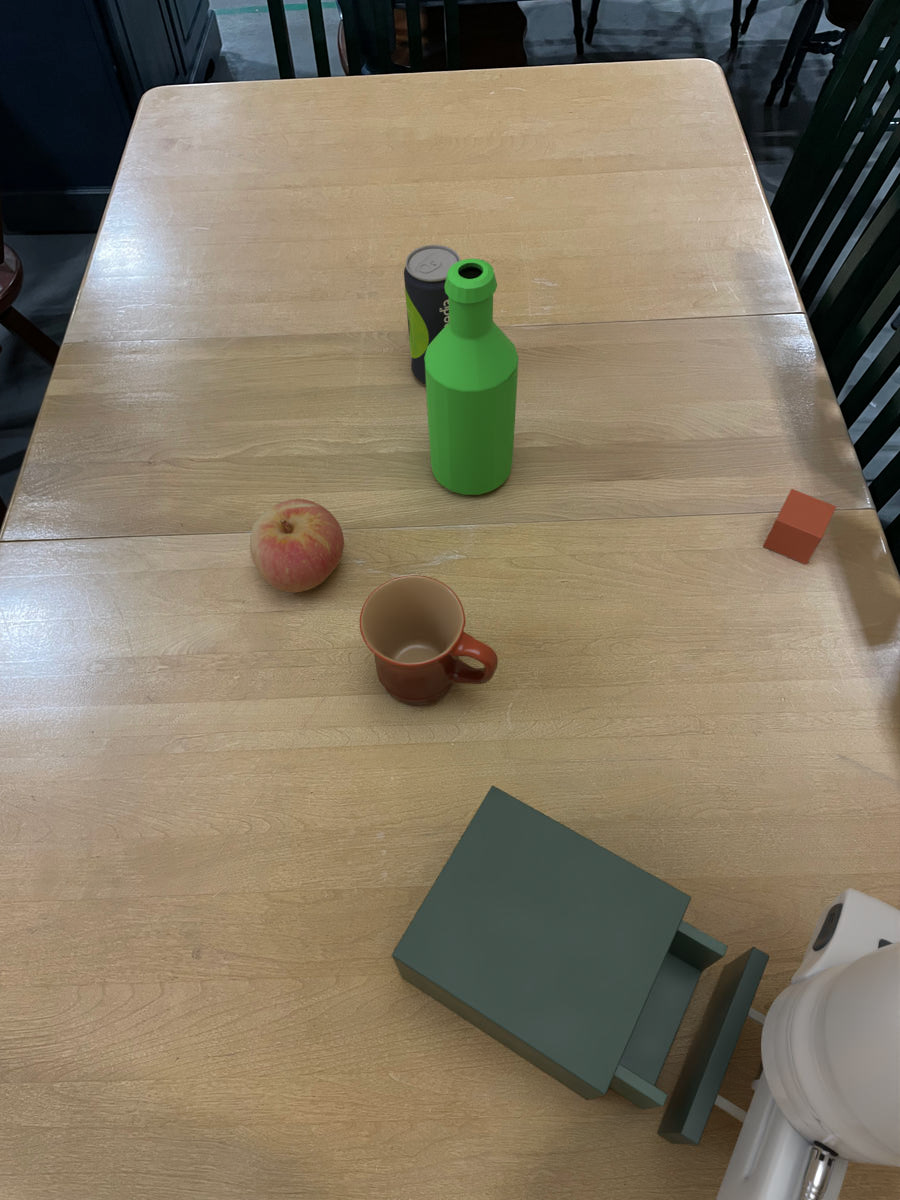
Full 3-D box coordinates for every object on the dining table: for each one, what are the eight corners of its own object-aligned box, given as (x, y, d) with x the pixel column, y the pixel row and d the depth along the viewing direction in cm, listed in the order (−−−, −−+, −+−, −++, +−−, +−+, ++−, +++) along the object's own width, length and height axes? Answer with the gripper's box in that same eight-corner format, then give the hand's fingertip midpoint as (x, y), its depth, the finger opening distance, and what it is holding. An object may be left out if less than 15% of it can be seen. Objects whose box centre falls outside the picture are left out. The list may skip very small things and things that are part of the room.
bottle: (476, 426, 95) (477, 225, 74) (528, 471, 92) (545, 273, 71) (415, 465, 93) (397, 268, 71) (466, 513, 89) (463, 320, 68)
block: (820, 533, 87) (836, 506, 83) (806, 565, 85) (821, 538, 81) (777, 516, 88) (791, 488, 84) (762, 546, 86) (776, 519, 82)
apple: (364, 559, 86) (355, 510, 79) (308, 622, 82) (294, 576, 76) (298, 521, 89) (283, 471, 82) (241, 580, 85) (221, 533, 78)
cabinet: (664, 926, 67) (692, 896, 58) (587, 1100, 61) (605, 1095, 52) (490, 825, 71) (492, 784, 63) (401, 977, 65) (390, 955, 57)
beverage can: (432, 398, 98) (425, 289, 85) (401, 368, 101) (391, 258, 88) (474, 375, 100) (475, 264, 87) (443, 346, 103) (439, 235, 90)
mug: (355, 696, 78) (340, 641, 69) (397, 621, 82) (389, 561, 73) (474, 746, 75) (474, 696, 66) (512, 666, 79) (517, 609, 71)
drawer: (802, 1010, 62) (842, 996, 56) (740, 1189, 57) (776, 1196, 50) (565, 873, 68) (575, 845, 61) (487, 1023, 62) (489, 1009, 56)
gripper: (855, 1327, 38) (758, 1278, 50) (967, 921, 47) (863, 960, 59) (723, 1236, 40) (660, 1210, 52) (856, 861, 49) (776, 911, 61)
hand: (769, 1074), depth 56 cm, fingers closed, pressing on drawer
